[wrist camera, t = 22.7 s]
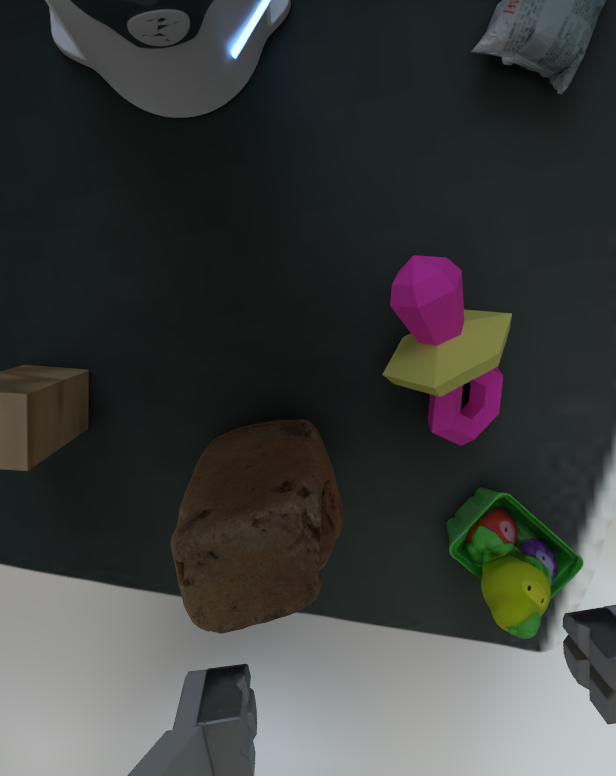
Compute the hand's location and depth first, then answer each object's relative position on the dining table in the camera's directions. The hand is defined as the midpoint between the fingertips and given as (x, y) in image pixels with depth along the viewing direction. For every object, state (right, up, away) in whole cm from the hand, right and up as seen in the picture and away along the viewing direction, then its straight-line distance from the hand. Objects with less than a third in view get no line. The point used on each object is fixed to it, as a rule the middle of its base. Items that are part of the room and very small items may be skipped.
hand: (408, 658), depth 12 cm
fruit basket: (+16, -8, +37) cm, 41 cm away
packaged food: (+16, +38, +28) cm, 50 cm away
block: (-6, +1, +34) cm, 34 cm away
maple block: (-25, +6, +31) cm, 41 cm away
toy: (+9, +11, +33) cm, 36 cm away
